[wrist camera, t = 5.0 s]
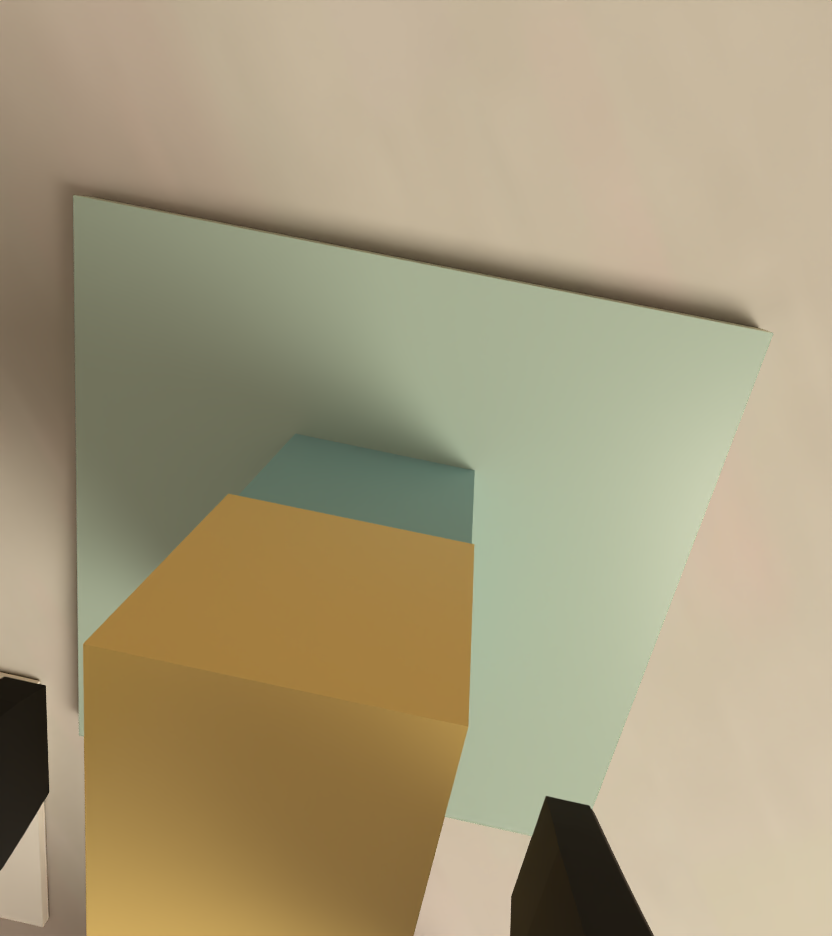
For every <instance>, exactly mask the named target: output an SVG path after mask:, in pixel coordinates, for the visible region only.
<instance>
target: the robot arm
mask: <svg viewBox="0 0 832 936" xmlns="http://www.w3.org/2000/svg"><path fill="white" fill-rule="evenodd" d="M48 794H49V769H48V740H47V710H46V685H41V684H37V683H32V682H28V681H23V680H19V679H14V678H10V677H5V676H4V677H2V678H1V679H0V871H1V869H2V868H3V867H4V865H5V864H6V862H7V860H8V859H9V857H10V856H11V854H12V853H13V851H14V849H15V848H16V846H17V845H18V843H19V842H20V840H21V838H22V837H23V835H24V834H25V832H26V830H27V829H28V827H29V825H30V824H31V822H32V820H33V819H34V817H35V815H36V814H37V812H38V810H39V809H40V807H41V805H42V804H43V802H44V800H45V799H46V797H47V795H48ZM510 936H654V935H653V933H652V931H651V929H650V927H649V925H648V923H647V921H646V919H645V917H644V915H643V914H642V911H641V909H640V907H639V905H638V903H637V901H636V899H635V897H634V895H633V893H632V891H631V889H630V887H629V885H628V883H627V881H626V879H625V877H624V875H623V873H622V871H621V869H620V867H619V864H618V862H617V860H616V858H615V856H614V854H613V852H612V850H611V848H610V845H609V843H608V841H607V839H606V837H605V835H604V833H603V830H602V828H601V826H600V824H599V822H598V820H597V818H596V815H595V813H594V812H593V810H592V809H591V807H590V806H589V805H585V804H581V803H576V802H572V801H567V800H563V799H558V798H554V797H549V796H546V797H545V800H544V802H543V805H542V808H541V811H540V814H539V817H538V820H537V823H536V826H535V829H534V832H533V835H532V838H531V841H530V843H529V846H528V849H527V852H526V855H525V858H524V861H523V864H522V867H521V870H520V873H519V876H518V879H517V882H516V884H515V887H514V890H513V893H512V896H511V928H510Z"/></svg>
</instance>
